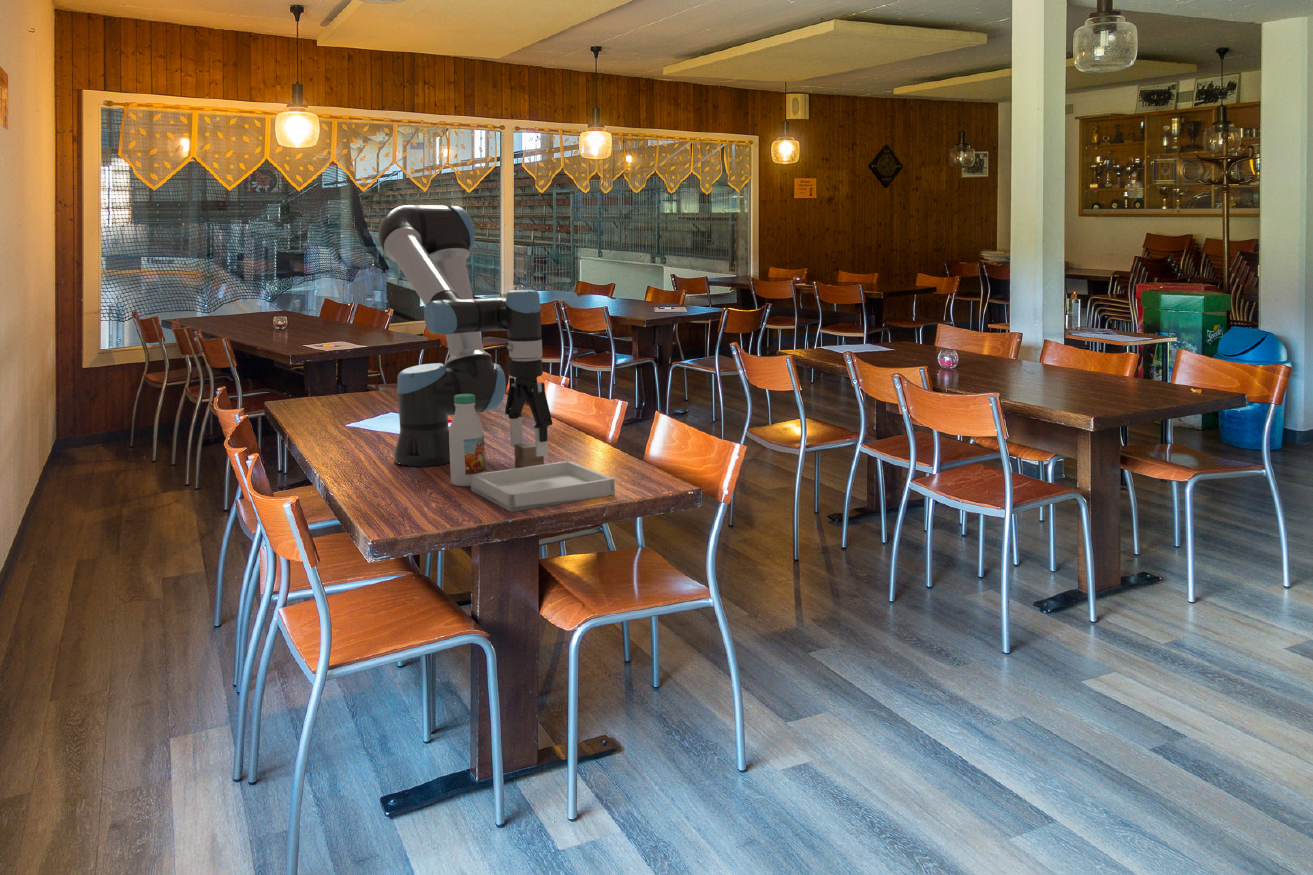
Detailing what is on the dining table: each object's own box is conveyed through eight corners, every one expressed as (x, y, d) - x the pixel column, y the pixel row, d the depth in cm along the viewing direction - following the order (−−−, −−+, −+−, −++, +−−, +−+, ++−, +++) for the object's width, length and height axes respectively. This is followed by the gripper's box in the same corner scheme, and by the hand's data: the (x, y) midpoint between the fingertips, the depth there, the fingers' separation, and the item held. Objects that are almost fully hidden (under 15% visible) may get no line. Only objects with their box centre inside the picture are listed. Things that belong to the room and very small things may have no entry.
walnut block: (515, 473, 233) (514, 444, 232) (535, 470, 236) (533, 441, 235) (524, 478, 229) (523, 448, 228) (544, 475, 232) (543, 445, 230)
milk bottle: (452, 488, 220) (447, 398, 216) (449, 480, 227) (445, 393, 223) (487, 485, 222) (484, 396, 218) (484, 477, 229) (480, 391, 225)
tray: (471, 490, 218) (470, 474, 218) (569, 475, 231) (569, 460, 230) (510, 512, 201) (510, 495, 200) (614, 494, 213) (614, 478, 213)
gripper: (488, 355, 236) (492, 443, 240) (534, 365, 215) (537, 462, 219) (517, 353, 240) (521, 440, 244) (565, 362, 219) (568, 457, 223)
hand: (529, 450), depth 231 cm, fingers open, 13 cm apart
